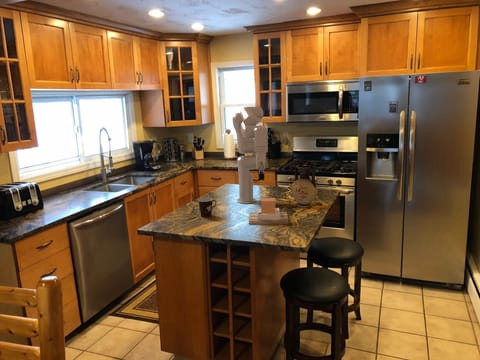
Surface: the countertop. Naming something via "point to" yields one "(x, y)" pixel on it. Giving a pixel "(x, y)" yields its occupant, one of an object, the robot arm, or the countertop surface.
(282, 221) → the board
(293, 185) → the amphora
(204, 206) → the coffee mug
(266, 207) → the orange block
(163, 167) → the countertop surface
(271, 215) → the socket
